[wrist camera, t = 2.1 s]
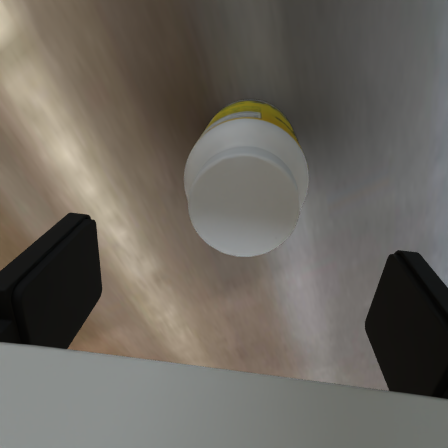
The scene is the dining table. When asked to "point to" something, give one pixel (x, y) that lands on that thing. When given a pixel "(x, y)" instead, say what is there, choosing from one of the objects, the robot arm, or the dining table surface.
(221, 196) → the pill bottle
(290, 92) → the dining table surface
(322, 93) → the dining table surface
